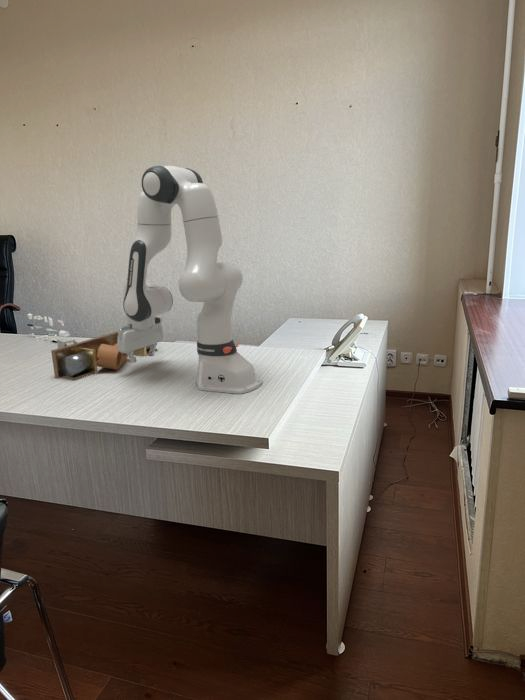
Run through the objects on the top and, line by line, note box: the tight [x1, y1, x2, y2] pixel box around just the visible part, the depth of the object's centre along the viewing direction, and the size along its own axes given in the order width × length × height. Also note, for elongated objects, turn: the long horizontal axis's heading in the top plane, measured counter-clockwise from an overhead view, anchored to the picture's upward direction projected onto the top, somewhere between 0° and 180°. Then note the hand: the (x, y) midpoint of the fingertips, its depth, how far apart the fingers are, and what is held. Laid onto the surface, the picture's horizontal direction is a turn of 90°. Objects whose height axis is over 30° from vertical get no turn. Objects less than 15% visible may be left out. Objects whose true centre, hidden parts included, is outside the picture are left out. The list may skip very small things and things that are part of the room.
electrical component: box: [56, 336, 78, 349], centre depth 215 cm, size 24×6×5 cm, turn 42°
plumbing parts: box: [27, 312, 71, 344], centre depth 236 cm, size 6×35×12 cm, turn 53°
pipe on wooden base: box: [50, 330, 158, 381], centre depth 200 cm, size 10×44×10 cm, turn 149°
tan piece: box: [97, 344, 129, 371], centre depth 196 cm, size 18×8×7 cm
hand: (142, 359), depth 193 cm, fingers open, 8 cm apart
